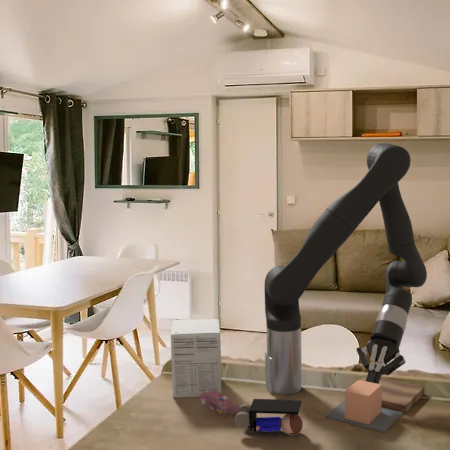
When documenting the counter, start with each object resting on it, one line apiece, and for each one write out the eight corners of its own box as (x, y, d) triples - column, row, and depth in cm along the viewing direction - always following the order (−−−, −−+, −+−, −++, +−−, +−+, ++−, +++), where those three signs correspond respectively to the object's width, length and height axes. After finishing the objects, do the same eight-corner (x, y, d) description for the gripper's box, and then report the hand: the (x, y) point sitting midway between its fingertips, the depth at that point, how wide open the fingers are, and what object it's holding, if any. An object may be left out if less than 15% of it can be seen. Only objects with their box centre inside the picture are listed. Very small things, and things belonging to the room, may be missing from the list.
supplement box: (222, 396, 170) (220, 332, 167) (172, 398, 169) (169, 334, 167) (220, 377, 183) (219, 318, 180) (174, 379, 182) (172, 319, 180)
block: (358, 379, 160) (344, 390, 153) (381, 384, 156) (368, 396, 150) (358, 406, 161) (344, 418, 154) (381, 411, 157) (368, 424, 151)
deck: (366, 381, 177) (366, 374, 177) (424, 393, 168) (424, 386, 168) (345, 399, 166) (345, 391, 166) (405, 413, 157) (405, 405, 157)
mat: (346, 399, 166) (346, 398, 166) (403, 413, 157) (403, 411, 157) (325, 417, 156) (325, 415, 156) (384, 432, 147) (384, 430, 147)
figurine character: (236, 442, 147) (302, 440, 144) (232, 410, 146) (298, 408, 143) (242, 429, 154) (305, 427, 150) (237, 398, 153) (301, 396, 150)
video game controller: (203, 413, 163) (193, 394, 160) (213, 400, 166) (204, 381, 163) (232, 424, 157) (222, 404, 153) (243, 411, 159) (234, 391, 156)
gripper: (361, 315, 168) (341, 374, 160) (411, 322, 160) (392, 385, 152) (369, 329, 173) (350, 388, 165) (418, 337, 166) (400, 399, 157)
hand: (370, 387), depth 159 cm, fingers closed
